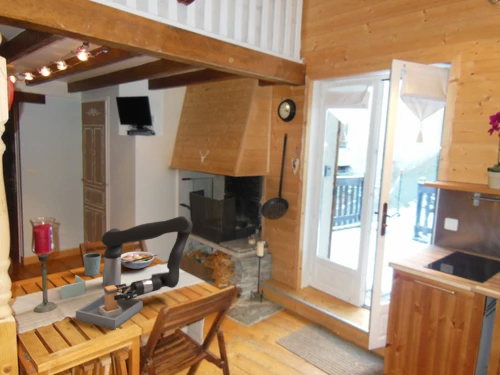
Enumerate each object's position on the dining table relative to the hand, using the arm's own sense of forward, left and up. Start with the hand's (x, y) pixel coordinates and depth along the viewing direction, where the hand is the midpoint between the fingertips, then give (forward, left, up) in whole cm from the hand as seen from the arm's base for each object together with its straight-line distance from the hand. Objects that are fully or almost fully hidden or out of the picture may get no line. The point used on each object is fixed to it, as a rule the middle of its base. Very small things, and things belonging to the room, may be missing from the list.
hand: (110, 295), depth 180 cm
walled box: (0, 0, -10) cm, 10 cm away
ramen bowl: (-26, +60, -10) cm, 66 cm away
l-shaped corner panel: (-36, +11, -11) cm, 39 cm away
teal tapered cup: (-44, +39, -10) cm, 60 cm away
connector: (0, 0, -9) cm, 9 cm away
